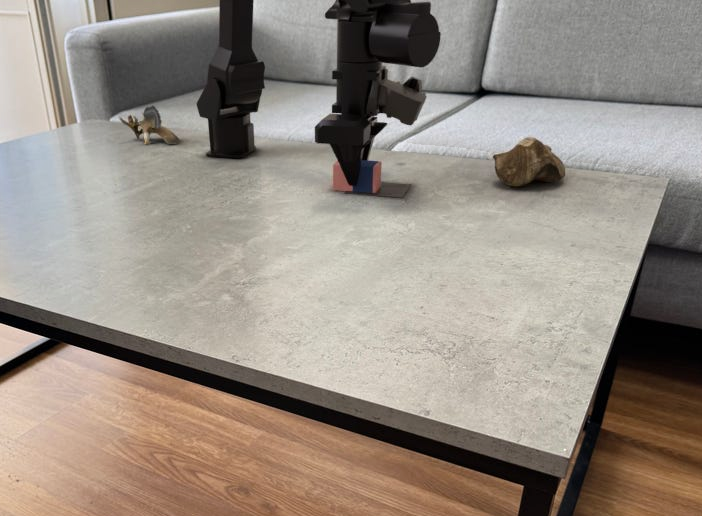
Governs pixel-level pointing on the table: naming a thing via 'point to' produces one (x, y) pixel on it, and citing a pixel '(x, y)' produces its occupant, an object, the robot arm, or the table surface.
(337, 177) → the eraser
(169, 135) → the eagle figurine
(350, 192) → the dark brown rectangular plate
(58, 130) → the table surface
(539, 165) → the fossilized seashell
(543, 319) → the table surface
